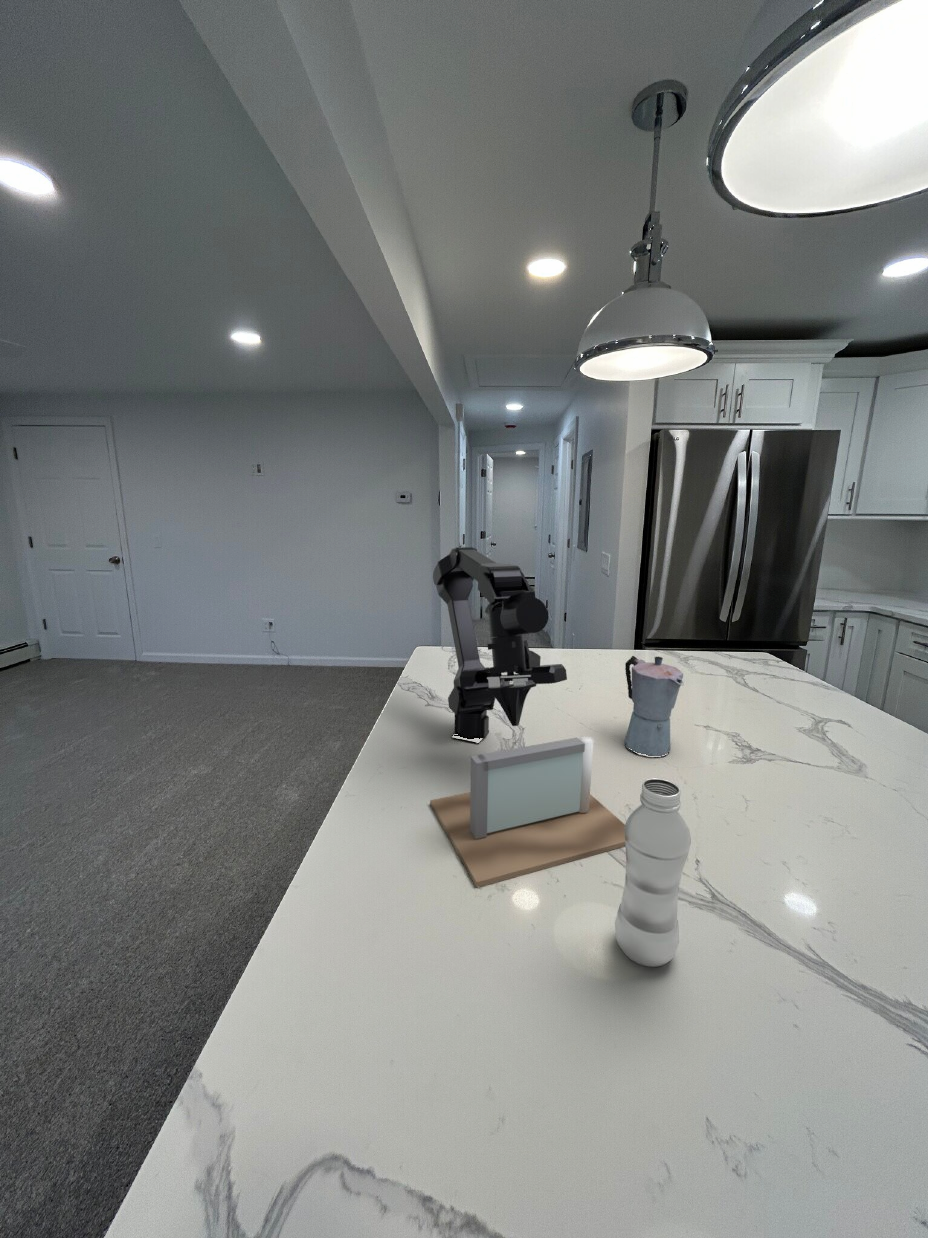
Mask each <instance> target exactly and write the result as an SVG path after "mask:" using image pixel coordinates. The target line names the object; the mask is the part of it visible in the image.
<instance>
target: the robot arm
mask: <svg viewBox="0 0 928 1238" xmlns="http://www.w3.org/2000/svg"><path fill="white" fill-rule="evenodd" d="M475 580H476V582H477V591H479V592H480V594H481V595H482V597H484V599H486V600H487V602H488V605H487V606H486V607H485V610H484V613H485V614H488V624H489V633H490V635H489V636H490V643H487V651H488V650H489V651H490V650H491V657H492V667H489V666H488V667H485V666H484V664H483V663H482V662H481V660H480V659H481V658H480V653H479V649H478V643H477V638H476V633H475V632H476V631H475V628H474V623H473V617H472V611H471V608H470V607H471V606H470V602H469V597H470V595H471V592H472V590H473V587H474V583H473V582H474V581H475ZM432 582H433V584H434V585H435V586H436V591H437V594H438V596H439V597H440V598H441V599H442V600H443V602H444V603H445V604H446V605H447V611H448V616H449V621H450V627H451V631H452V632H451V633H452V637H453V644H454V650H455V654H456V655H455V656H456V661H457V665H458V668H457V670H456V673H455V677H454V679H453V688H452V690H451V692H450V694H449V695H448V697H447V702H448V708H449V709H450V710H451V711H452V712H453V713H454V733H455V734H458V735H454V736H460V737H463V738H467V739H474V738H479V739H480V738H484V739H485V738H486V737H487V735H488V734H489V733H490V730H489V729H490V727H489V725H490V724H489V723H490V721H489V720H490V717H489V715H487V714H488V711H493V709H494V707H495V702H496V701H497V702H498V704H499V705H500V707H501V709H502V711H503V713H504V714H505V716H506V717H507V720H508V721H509V723H510V725H511V726H512V727H518V726H519V725H520V722H521V717H522V713H523V709H524V705H525V701H526V699H527V696H528V693H529V692H530V690H531V689H532V688H535V687H536V686H537V685H547V684H548V685H549V684H556V683H560V682H564V681H566V680H568V675H567V669H566V668H565V666H564V665H563V664H562V663H557V664H556V663H555V664H542V665H541V655H540V654H538V653H536V652H535V651H533V650H530V648H529V644H528V640H525V639H524V635H527V634H528V635H529V634H535V633H539V632H541V631H543V629H544V628H545V627H546V626H547V624H548V621H549V610H548V609H547V607H546V606H547V605H546V604H545V603H544V602H543V601H542V600H540V599H539V598H537V597H536V591H535V590H534V589H533V588H532V587H531V585H530V583H529V582H528V580H527V578H526V577H525V574H524V573H523V572H522V569H521V567H519V565H515V564H511V563H498V562H495V561H494V560H492V559H491V558H489V557H487V556H486V555H485V554H482V553H480V552H479V551H478V549H477V548H476V547H473V546H468V547H467V546H458V547H457V546H456V547H454V548H452V549H451V551H450V552H449V554H447V555H446V556H445V557H443V558H441V559H440V560H438V561H437V563H436V566H435V568H434V569H433V574H432ZM505 673H506V674H505ZM510 682H512V683H510ZM451 736H453V735H452V734H451V735H450V737H451Z"/></svg>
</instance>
